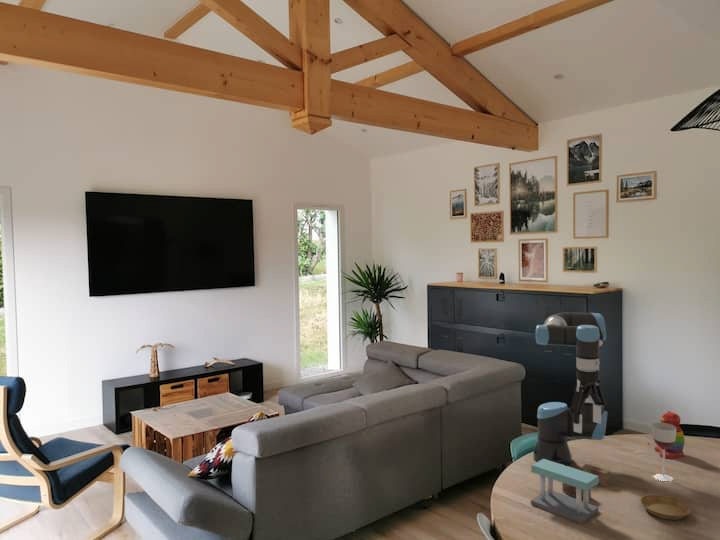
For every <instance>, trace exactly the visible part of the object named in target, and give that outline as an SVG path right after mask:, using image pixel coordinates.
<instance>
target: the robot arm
mask: <svg viewBox="0 0 720 540" xmlns="http://www.w3.org/2000/svg"><path fill="white" fill-rule="evenodd" d="M606 340H607V329H606V323H605V318H604V316H603V314H601V313H597V312H576V311H575V312H570V311H567V312H566V311H565V312H559V313H554V314H552V315H550V316H548V317H547V318H546V319H545V321H544V323H543V324H537V325H536V327H535V343H536V344H537V345H543V346H563V347H564V346H565V347H576V359H575V360H576V363H575V364H576V367H575V368H576V375H575V376H576V384H575V385H574V391H573V395H572V401H571V405H570V407H568V404H567V403H565V402H560V401H551V402H549V401H548V402H545V403H542V404H540V405H539V406H538V408H537V415H536V418H537V440H536V443H535V446H534V449H533V455H532V456H533V457H534V458H533V460H534V459H535V460H536V461H535V460H534V461H535V462H537V461H540V460H542V459H546V460H549V461H552V462H556V463H559V464H562V465H566V466H569V465H571V464H572V463H573V460H572V459H573V456H572V453H571V450H570V447H569V444H568V438H573V439H585V440H591V441H593V440H595V441H602V440H604V439H605V436H606V430H607V420H608V411H606V410H604V408H605V407H604V406H605V402H606V399H605V397H604V391H603V389H602V385H601V379H600V364H601V362H600V347H601V346H602V345H603V343H604V341H606ZM571 462H572V463H571ZM570 463H571V464H570ZM568 464H569V465H568Z"/></svg>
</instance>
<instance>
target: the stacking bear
mask: <svg viewBox="0 0 720 540" xmlns="http://www.w3.org/2000/svg"><path fill="white" fill-rule="evenodd" d="M660 423H667V424H671V425H674V426H675V427H676V439H675V442H674V445H673V446H672V447H670V448H667V449H665V459H671V460H672V458H674V459H681V458H683V457H684V456H685V455H684V447H685V442H686V441H685V435H684V432H683V429H682V427H680V425H681V417H680V416H679V415H678V414H677V413H675V412H672V411H669V410H668V411H667V412H665V413H664V414H663V415H662V416H661V417H660ZM654 451H655V452H657V453H659V456H660V457H661V458H663V449H662V448H661V447H659V446H658V445H656V446H654Z"/></svg>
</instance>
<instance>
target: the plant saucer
mask: <svg viewBox="0 0 720 540" xmlns="http://www.w3.org/2000/svg"><path fill="white" fill-rule="evenodd" d="M639 502H640V504H641V505H642V506H643V508H645V510H646V511H647V512H648V513H650V514H651V515H653V516H655V517H657V518H661V519H664V520H669V521H671V520H673V521H676V520H681V519H684V518H686V516H688V515H689V514H691V512H692V511H691V510H692V509H691V507H690V506H689V505H688V504H687V503H685V502H684V501H682V500H680V499H678V498H675V497H672V496H667V495H661V494H648V495H643V496H642V497H641V498H640V499H639Z"/></svg>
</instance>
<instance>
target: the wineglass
mask: <svg viewBox="0 0 720 540" xmlns="http://www.w3.org/2000/svg"><path fill="white" fill-rule="evenodd" d="M651 426H652V428H651V430H652V439H653V441H654V443H655V444H656V446H659V447H661V448H662V449H663V457H662V473H655V474H656V475H654V474H653V475H654V476H653V475H652V478H653V477H654V478H655V480H657V479H658V480H659V481H660V480H661V481H660V482H662V481H670V482H669V483H672V482H671V481H672V480H673V478H674V477H673V476H671V475H669V476H668V474H666V458H665V449H667V448H670V447H672V446H673V445H674V442H675V439H676V427H675V426H674V425H671V424H667V423H662V422H653V423H651ZM662 474H663V475H662ZM670 476H671V477H670ZM672 477H673V478H672ZM654 478H653V479H654ZM658 480H657V481H658Z"/></svg>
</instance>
